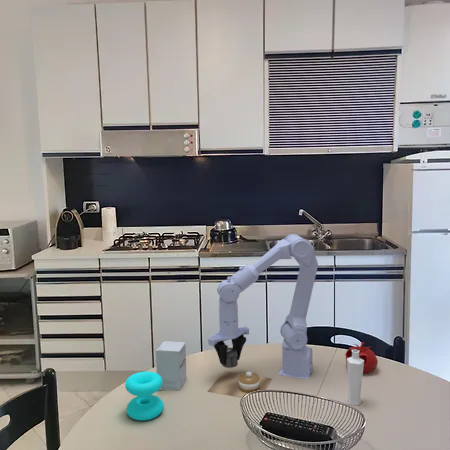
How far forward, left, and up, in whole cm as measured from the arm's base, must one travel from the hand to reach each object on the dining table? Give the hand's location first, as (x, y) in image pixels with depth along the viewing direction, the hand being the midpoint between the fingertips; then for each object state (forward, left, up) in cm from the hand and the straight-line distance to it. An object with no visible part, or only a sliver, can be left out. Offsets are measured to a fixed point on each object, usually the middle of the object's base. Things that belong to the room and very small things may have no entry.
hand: (229, 361), depth 145 cm
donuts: (+15, +26, -6) cm, 31 cm away
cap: (0, 0, -1) cm, 1 cm away
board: (-5, +4, -6) cm, 8 cm away
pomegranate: (-38, -19, -6) cm, 43 cm away
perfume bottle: (-38, +2, -6) cm, 38 cm away
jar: (-8, +5, -5) cm, 11 cm away
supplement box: (+15, +10, -6) cm, 19 cm away
